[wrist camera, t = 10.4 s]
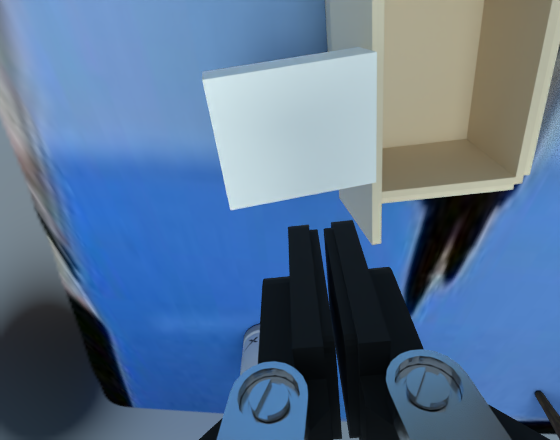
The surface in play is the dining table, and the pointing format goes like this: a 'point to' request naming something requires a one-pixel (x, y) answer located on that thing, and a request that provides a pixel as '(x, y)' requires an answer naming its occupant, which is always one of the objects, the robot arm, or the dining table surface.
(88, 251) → the dining table surface
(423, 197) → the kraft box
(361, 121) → the top flap
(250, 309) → the dining table surface
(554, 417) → the decorative torch
